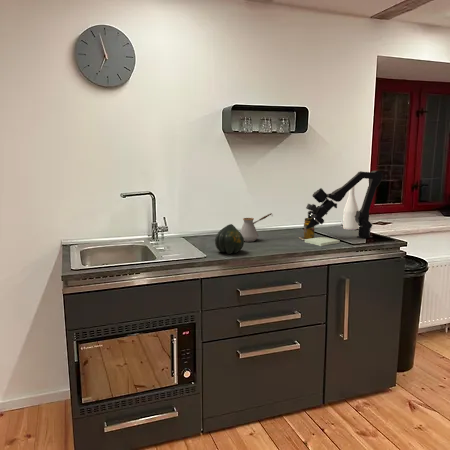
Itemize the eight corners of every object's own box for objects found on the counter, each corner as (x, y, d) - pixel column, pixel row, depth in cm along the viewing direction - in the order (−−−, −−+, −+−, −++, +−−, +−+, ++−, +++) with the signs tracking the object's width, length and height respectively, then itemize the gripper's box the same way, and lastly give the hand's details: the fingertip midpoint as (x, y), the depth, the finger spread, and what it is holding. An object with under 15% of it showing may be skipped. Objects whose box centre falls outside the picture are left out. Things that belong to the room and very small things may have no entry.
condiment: (316, 239, 254) (316, 219, 252) (302, 240, 253) (302, 219, 251) (312, 237, 261) (312, 217, 259) (298, 237, 260) (298, 217, 258)
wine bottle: (343, 230, 283) (345, 183, 278) (342, 227, 292) (343, 182, 287) (359, 230, 281) (360, 183, 276) (357, 227, 290) (358, 182, 286)
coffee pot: (243, 243, 247) (243, 216, 245) (235, 239, 258) (235, 214, 255) (277, 239, 255) (277, 214, 252) (268, 236, 265) (268, 211, 263)
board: (322, 239, 255) (322, 236, 254) (339, 242, 244) (339, 240, 243) (304, 242, 247) (304, 239, 247) (321, 246, 236) (321, 243, 236)
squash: (216, 246, 214) (234, 221, 216) (205, 242, 228) (222, 219, 230) (237, 262, 219) (254, 238, 222) (225, 257, 233) (241, 235, 235)
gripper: (311, 197, 262) (292, 215, 264) (318, 200, 244) (298, 220, 245) (323, 209, 264) (305, 228, 265) (332, 214, 245) (312, 234, 247)
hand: (305, 227), depth 256 cm, fingers closed on condiment, 6 cm apart
